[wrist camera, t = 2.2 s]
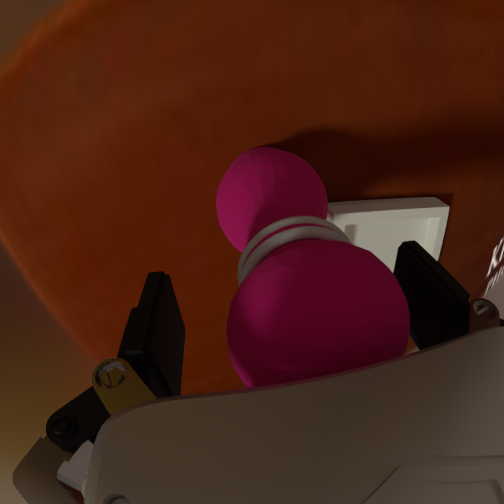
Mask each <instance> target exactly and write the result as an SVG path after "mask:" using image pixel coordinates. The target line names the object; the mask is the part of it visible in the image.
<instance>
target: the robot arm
mask: <svg viewBox="0 0 504 504" xmlns="http://www.w3.org/2000/svg"><path fill="white" fill-rule="evenodd" d="M393 274H394V276H395V277H396V279H397V281H398V283H399V285H400V287H401V289H402V291H403V293H404V295H405V297H406V299H407V304H408V309H409V314H410V333H409V334H410V336H411V338H412V339H413V341H414V342H415V344H416V345H417V347H418V349H419V350H420V351H417V352H414V353H410V354H407V355H404V356H400V357H397V358H394V359H390V360H387V361H383V362H379V363H376V364H372V365H368V366H364V367H360V368H356V369H352V370H348V371H343V372H339V373H334V374H330V375H325V376H320V377H315V378H310V379H304V380H299V381H293V382H287V383H281V384H275V385H268V386H261V387H253V388H245V389H237V390H228V391H219V392H209V393H197V394H188V395H180V393H181V379H182V366H183V354H184V342H185V326H184V323H183V320H182V316H181V313H180V310H179V306H178V303H177V300H176V296H175V293H174V289H173V286H172V282H171V278H170V276H169V274H167V275H165V273H164V272H163V271H160V272H151V273H149V274H148V276H147V279H146V282H145V285H144V288H143V291H142V294H141V297H140V301H139V304H138V307H135V308H133V309H132V310H131V312H130V315H129V318H128V322H127V325H126V328H125V331H124V335H123V338H122V341H121V345H120V348H119V352H118V355H117V358H109V359H106V360H104V361H102V362H101V363H99V364H98V365H97V366H96V367H95V368H94V370H93V372H92V375H91V382H92V385H93V386H91V387H90V388H89V389H87V390H86V391H84V392H83V393H82V394H80V395H79V396H77V397H76V398H74V399H73V400H71V401H70V402H69V403H67V404H66V405H64V406H63V407H62V408H60V409H59V410H57V411H56V412H54V413H53V414H52V415H51V416H50V418H49V420H48V421H47V425H46V433H47V435H46V436H45V438H44V439H43V438H42V437H40V438H39V439H38V440H37V442H36V443H35V444H34V445H33V447H32V448H31V449H30V450H29V452H28V453H27V454H26V455H25V457H24V458H23V459H22V460H21V462H20V463H19V464H18V465H17V467H16V468H15V470H14V472H13V483H14V486H15V487H16V489H17V490H18V492H19V493H20V494H21V495H22V497H23V498H24V499H25V500H26V501H27V502H28V504H504V320H503V319H500V318H499V311H498V309H497V307H496V306H495V305H494V304H493V303H492V302H490V301H489V300H486V299H483V298H475V299H473V300H472V301H471V302H470V303H469V302H468V299H469V296H470V294H469V293H468V292H467V291H466V290H465V289H464V288H463V287H462V286H461V285H460V284H459V283H458V282H457V281H456V280H455V278H454V277H453V276H452V275H451V274H450V273H449V272H448V271H447V270H446V269H445V268H444V267H443V266H442V265H441V264H440V263H439V262H438V261H437V260H436V259H435V258H433V257H432V256H431V255H430V254H429V253H428V252H427V251H426V250H425V249H424V248H423V247H422V246H421V245H420V244H419V243H418V242H417V241H415V240H412V241H404V242H402V243H401V245H400V246H399V247H398V251H397V256H396V261H395V266H394V271H393ZM87 471H88V472H87ZM86 472H87V474H86ZM86 477H87V479H86ZM85 479H86V486H85V495H84V498H83V496H82V493H81V486H82V484H83V482H84V480H85ZM126 498H127V499H126Z"/></svg>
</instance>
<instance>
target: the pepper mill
mask: <svg viewBox="0 0 504 504" xmlns="http://www.w3.org/2000/svg"><path fill="white" fill-rule="evenodd" d="M216 206H217V214H218V219H219V223H220V226H221V228H222V230H223V232H224V234H225V235H226V237H227V238H228V240H229V241H230V242H231V244H232V245H233V246H234V247H235V248H236V249H238V250H239V251H240V252H242V255H241V258H240V261H239V265H238V281H239V288H238V290H237V292H236V294H235V296H234V298H233V300H232V302H231V305H230V310H229V316H228V321H227V342H228V350H229V353H230V356H231V360H232V363H233V366H234V368H235V370H236V372H237V375H238V377H239V378H240V380H241V381H242V382H243V383H244V384H245V386H246V387H247V388H253V387H261V386H268V385H275V384H281V383H287V382H293V381H299V380H304V379H310V378H315V377H320V376H325V375H330V374H334V373H339V372H343V371H348V370H352V369H356V368H360V367H364V366H368V365H372V364H376V363H379V362H383V361H387V360H390V359H394V358H397V357H400V356H404V354H405V352H406V347H407V343H408V338H409V333H410V314H409V309H408V304H407V299H406V297H405V295H404V293H403V291H402V289H401V287H400V285H399V283H398V281H397V279H396V277H395V276H394V274H393V273H392V271H391V270H390V269H389V268H388V267H387V266H386V265H385V264H384V263H383V262H382V261H381V260H380V259H379V258H378V257H376V256H375V255H374V254H373V253H372V252H371V251H368V250H366V249H363V248H361V247H358V246H355V245H353V244H352V243H351V242H350V241H349V239H348V237H347V236H346V235H345V233H344V232H343V231H342V230H341V229H340V228H339V227H337V226H336V225H335V224H333V223H331V222H329V221H327V214H328V200H327V194H326V190H325V187H324V184H323V182H322V180H321V179H320V177H319V175H318V174H317V173H316V171H315V170H314V169H313V167H312V166H311V165H310V164H309V163H308V162H306V161H305V160H304V159H303V158H301V157H299V156H298V155H296V154H293V153H291V152H288V151H284V150H279V149H276V148H272V147H257V148H253V149H250V150H247V151H245V152H244V153H242V154H241V155H240V156H238V157H237V158H236V159H235V160H234V161H233V162H232V164H231V165H230V167H229V168H228V170H227V172H226V174H225V175H224V177H223V178H222V180H221V183H220V185H219V188H218V192H217V199H216Z"/></svg>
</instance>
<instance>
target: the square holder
mask: <svg viewBox="0 0 504 504" xmlns="http://www.w3.org/2000/svg"><path fill="white" fill-rule="evenodd" d="M449 208H450V207H449V206H448V205H446V204H445V203H443V202H442V201H440V200H439V199H437V198H436V197H420V198H396V199H377V200H360V201H345V202H331V203H328V214H327V221H329V222H331V223H333V224H335V225H336V226H337V227H339V228H340V229H341V230H342V231H343V232H344V233H345V235H346V236H347V237H348V239H349V241H350V242H351V243H352V244H353V245H355V246H358V247H361V248H363V249H366V250H368V251H371V252H372V253H373V254H374V255H375V256H376V257H378V258H379V259H380V260H381V261H382V262H383V263H384V264H385V265H386V266H387V267H388V268H389V269H390V270H391V271H392V273H393V271H394V266H395V261H396V256H397V251H398V247H399V246H400V245H401V243H402V242H404V241H412V240H415V241H417V242H418V243H419V244H420V245H421V246H422V247H423V248H424V249H425V250H426V251H427V252H428V253H429V254H430V255H431V256H432V257H433V258H435V259H436V260H437V261H438V258H439V254H440V250H441V246H442V242H443V237H444V233H445V228H446V224H447V218H448V213H449Z"/></svg>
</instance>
